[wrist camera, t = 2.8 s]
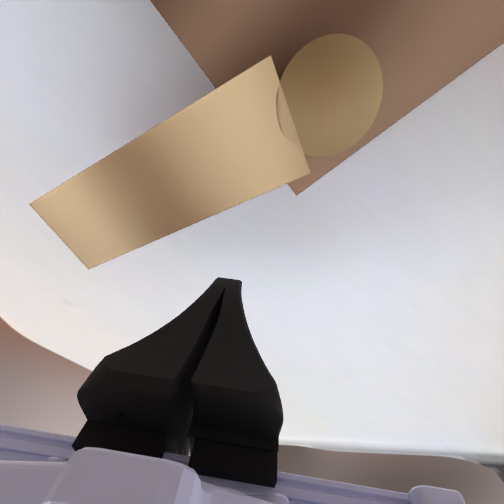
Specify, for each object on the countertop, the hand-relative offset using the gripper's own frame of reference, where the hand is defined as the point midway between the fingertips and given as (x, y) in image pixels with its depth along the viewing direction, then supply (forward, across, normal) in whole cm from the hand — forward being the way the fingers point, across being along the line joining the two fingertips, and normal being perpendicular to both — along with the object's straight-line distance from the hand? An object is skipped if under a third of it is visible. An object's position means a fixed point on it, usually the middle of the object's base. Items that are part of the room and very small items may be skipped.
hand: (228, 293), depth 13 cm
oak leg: (+1, +1, -7) cm, 7 cm away
